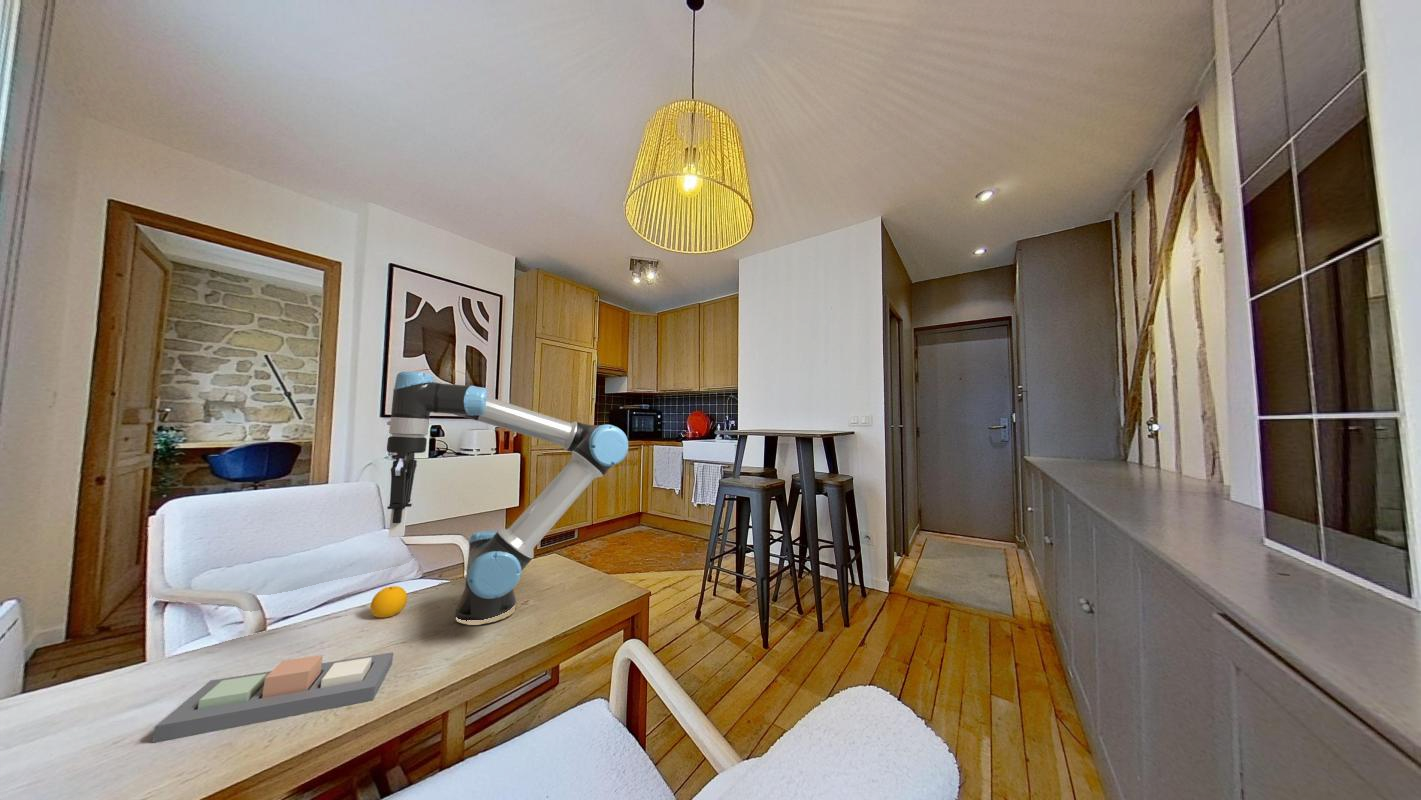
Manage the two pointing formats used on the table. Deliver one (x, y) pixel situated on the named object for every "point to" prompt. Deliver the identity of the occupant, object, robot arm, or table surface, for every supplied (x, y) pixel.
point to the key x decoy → (292, 676)
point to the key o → (233, 691)
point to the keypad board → (271, 703)
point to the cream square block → (347, 672)
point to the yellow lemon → (388, 601)
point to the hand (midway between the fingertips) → (396, 536)
